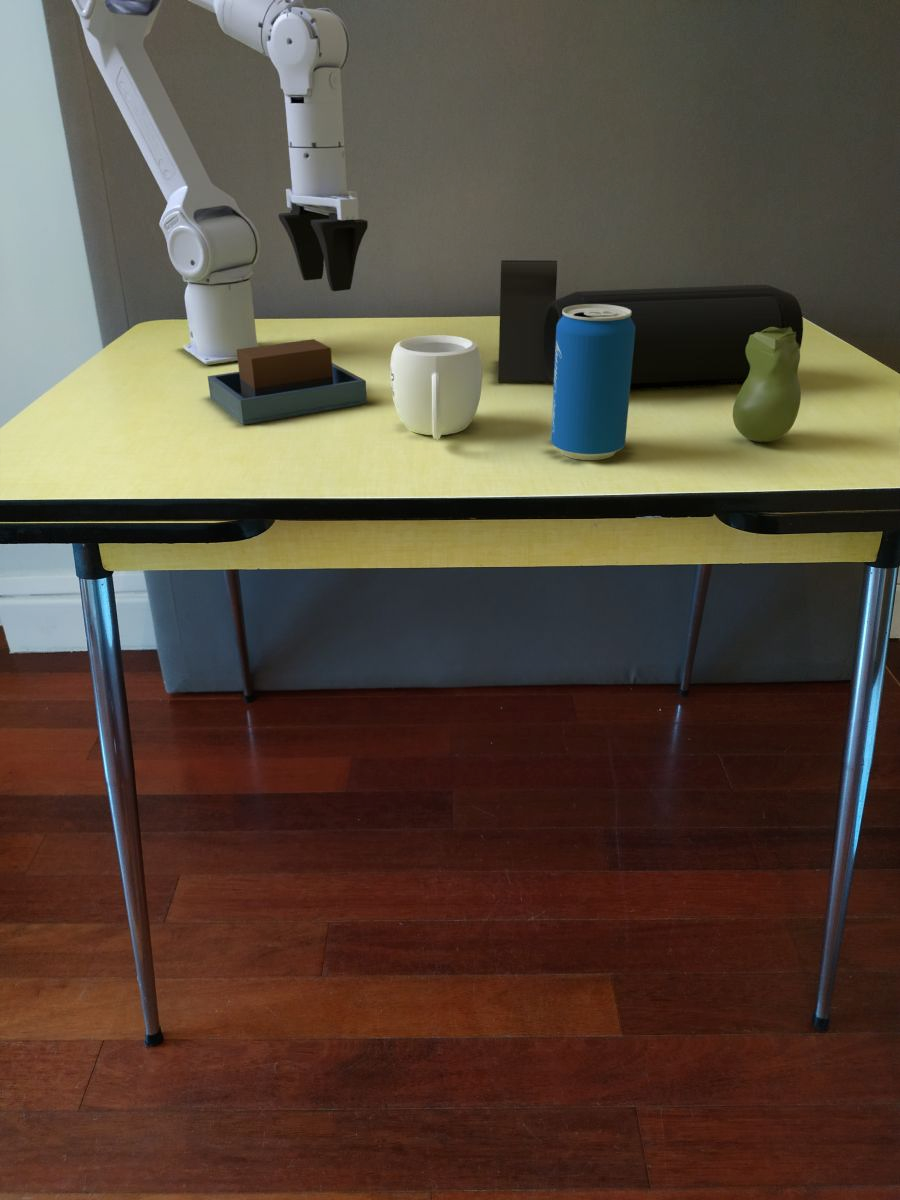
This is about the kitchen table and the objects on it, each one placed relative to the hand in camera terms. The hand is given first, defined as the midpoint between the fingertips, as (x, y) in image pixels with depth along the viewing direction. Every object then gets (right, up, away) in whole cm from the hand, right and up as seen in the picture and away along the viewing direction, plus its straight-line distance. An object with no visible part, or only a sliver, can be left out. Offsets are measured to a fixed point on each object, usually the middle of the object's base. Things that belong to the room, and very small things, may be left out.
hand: (326, 284), depth 100 cm
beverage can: (+26, -22, -20) cm, 39 cm away
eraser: (-3, -14, -6) cm, 16 cm away
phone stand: (+22, -9, +3) cm, 24 cm away
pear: (+42, -20, -18) cm, 50 cm away
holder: (-3, -14, -6) cm, 16 cm away
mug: (+12, -19, -15) cm, 28 cm away
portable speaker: (+37, -12, -2) cm, 39 cm away
